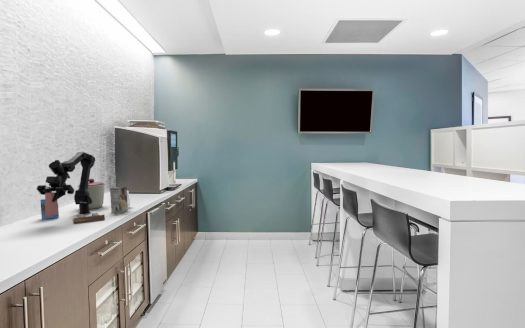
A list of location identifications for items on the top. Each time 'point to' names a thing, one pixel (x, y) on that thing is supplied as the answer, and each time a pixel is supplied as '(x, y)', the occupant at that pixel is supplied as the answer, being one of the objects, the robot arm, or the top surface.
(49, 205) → the dusty red block
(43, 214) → the label tape cartridge
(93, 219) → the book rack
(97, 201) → the canister
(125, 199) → the coffee box
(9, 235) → the top surface
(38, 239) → the top surface
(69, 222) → the top surface
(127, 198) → the cylinder with rectangular tab
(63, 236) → the top surface
